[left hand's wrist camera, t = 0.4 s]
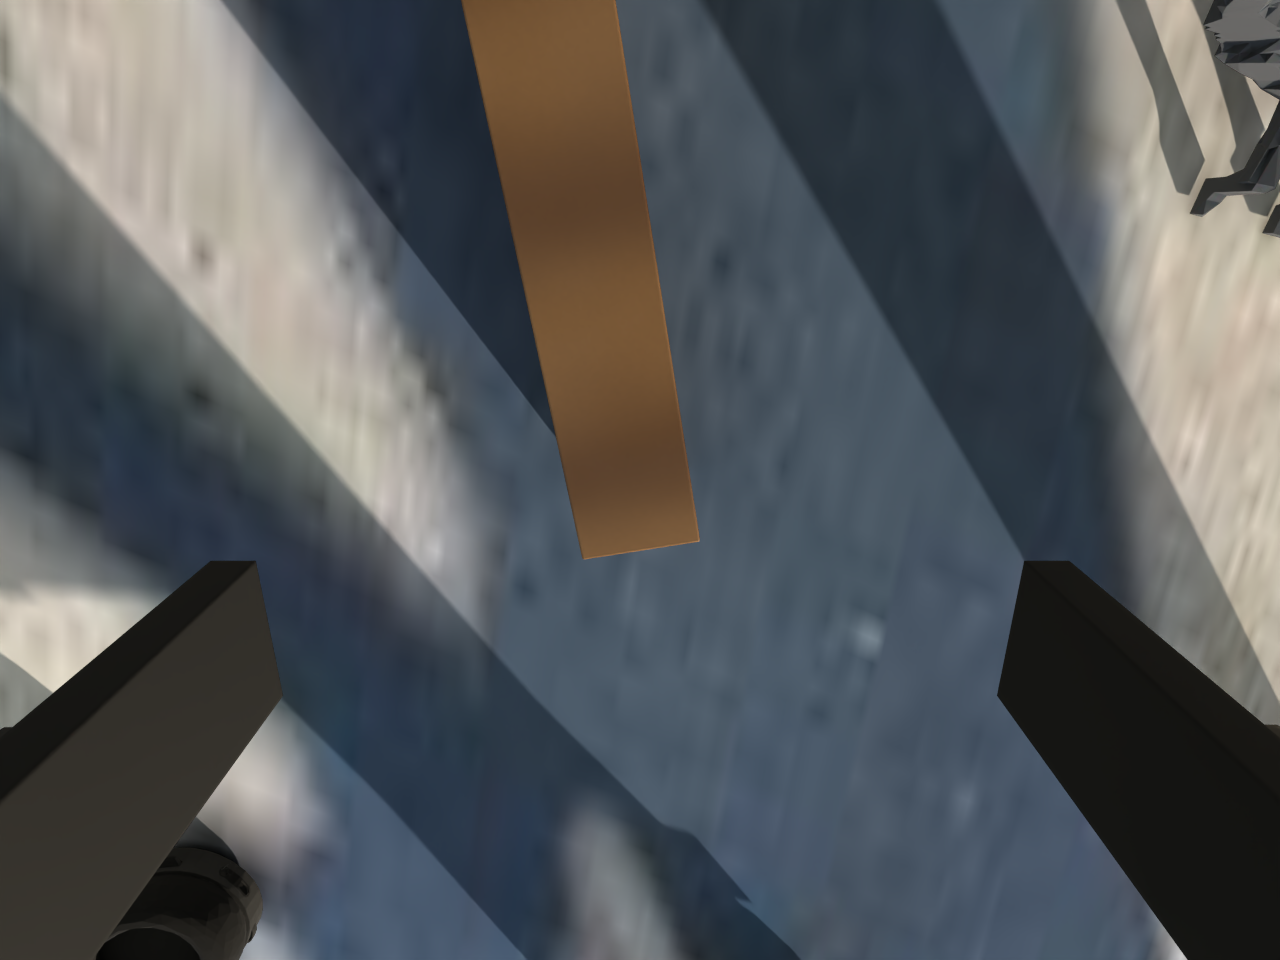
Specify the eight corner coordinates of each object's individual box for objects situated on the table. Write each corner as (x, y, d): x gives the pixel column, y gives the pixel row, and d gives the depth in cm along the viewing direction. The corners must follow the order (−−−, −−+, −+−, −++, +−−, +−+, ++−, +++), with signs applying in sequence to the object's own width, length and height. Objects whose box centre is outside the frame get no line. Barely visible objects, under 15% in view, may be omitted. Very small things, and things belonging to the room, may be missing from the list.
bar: (687, 473, 37) (700, 542, 29) (593, 488, 37) (582, 560, 29) (582, -194, 28) (561, -346, 20) (460, -168, 28) (393, -308, 20)
